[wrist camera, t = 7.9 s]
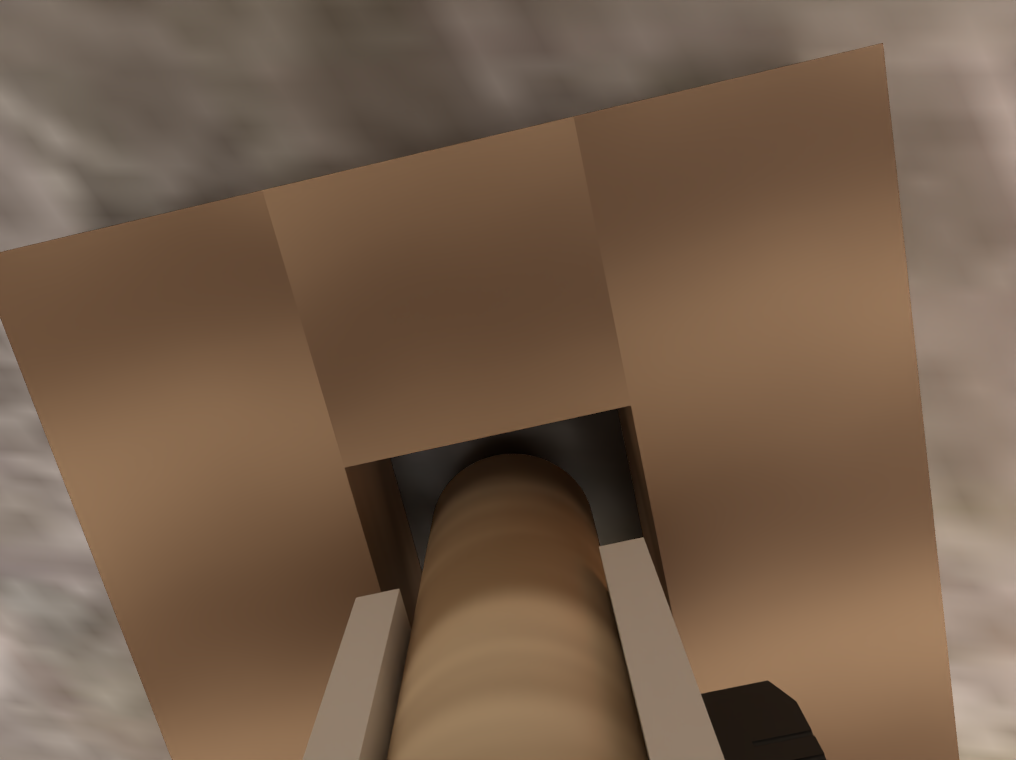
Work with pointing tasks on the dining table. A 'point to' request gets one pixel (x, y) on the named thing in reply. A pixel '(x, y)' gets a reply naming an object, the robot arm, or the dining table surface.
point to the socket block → (514, 398)
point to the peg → (514, 627)
